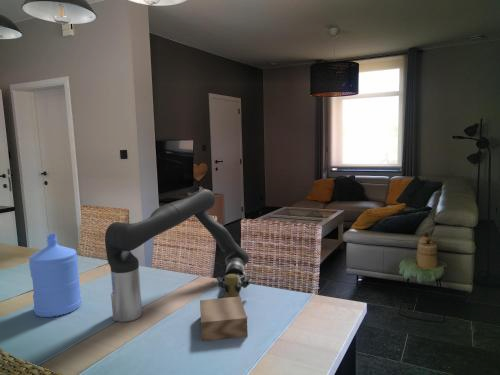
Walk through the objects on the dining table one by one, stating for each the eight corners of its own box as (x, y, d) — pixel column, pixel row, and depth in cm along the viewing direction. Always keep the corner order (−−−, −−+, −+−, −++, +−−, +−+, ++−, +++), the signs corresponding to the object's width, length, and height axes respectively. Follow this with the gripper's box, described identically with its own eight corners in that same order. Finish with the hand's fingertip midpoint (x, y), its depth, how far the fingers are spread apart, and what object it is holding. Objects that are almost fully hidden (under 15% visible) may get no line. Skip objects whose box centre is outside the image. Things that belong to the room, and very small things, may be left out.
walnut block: (201, 341, 112) (200, 322, 111) (200, 316, 127) (199, 300, 127) (247, 336, 114) (247, 317, 113) (240, 312, 129) (240, 296, 129)
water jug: (91, 303, 141) (84, 231, 138) (54, 321, 127) (46, 242, 123) (62, 297, 148) (56, 228, 144) (24, 314, 134) (16, 238, 130)
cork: (238, 307, 133) (237, 278, 132) (222, 306, 135) (221, 277, 133) (242, 300, 139) (241, 272, 138) (226, 299, 140) (225, 271, 139)
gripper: (217, 264, 150) (212, 280, 133) (252, 263, 150) (251, 279, 133) (218, 282, 151) (213, 300, 134) (252, 281, 151) (252, 299, 134)
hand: (232, 289), depth 133 cm, fingers closed on cork, 3 cm apart
